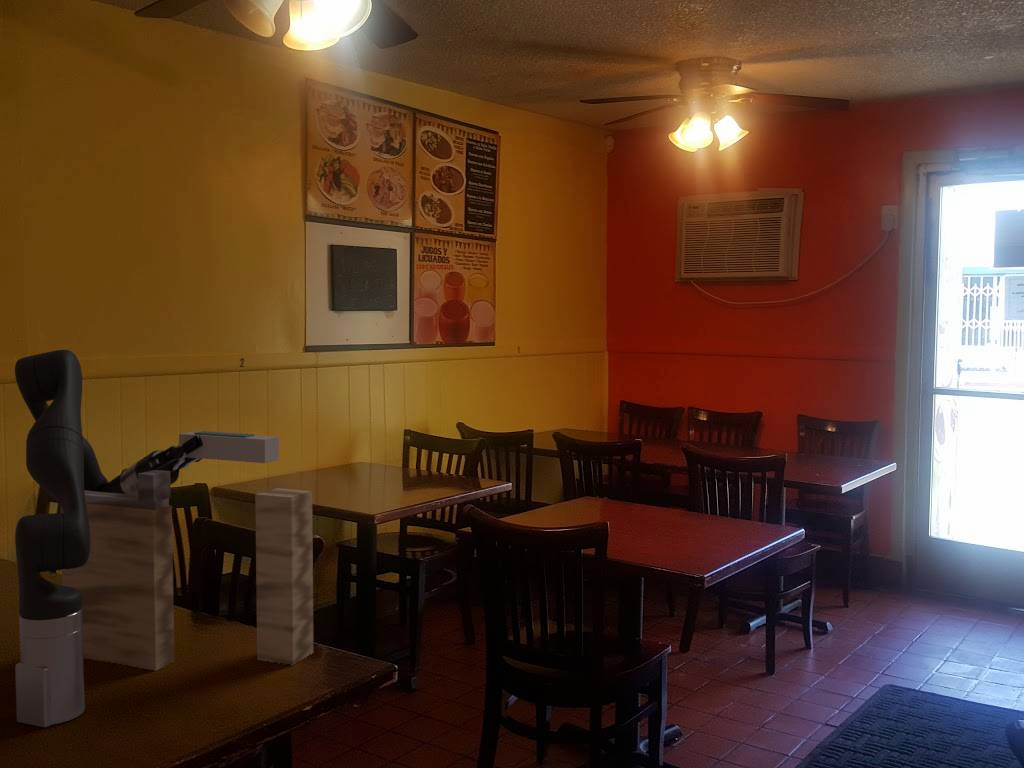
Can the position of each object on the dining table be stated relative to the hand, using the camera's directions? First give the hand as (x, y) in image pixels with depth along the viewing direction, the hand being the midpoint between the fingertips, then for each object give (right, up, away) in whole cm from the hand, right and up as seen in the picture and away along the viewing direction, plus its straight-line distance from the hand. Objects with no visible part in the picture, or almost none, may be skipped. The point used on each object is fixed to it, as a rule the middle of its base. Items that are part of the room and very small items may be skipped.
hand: (208, 438), depth 184 cm
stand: (+16, -42, -3) cm, 45 cm away
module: (+4, -4, -1) cm, 6 cm away
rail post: (-16, -42, -4) cm, 45 cm away
